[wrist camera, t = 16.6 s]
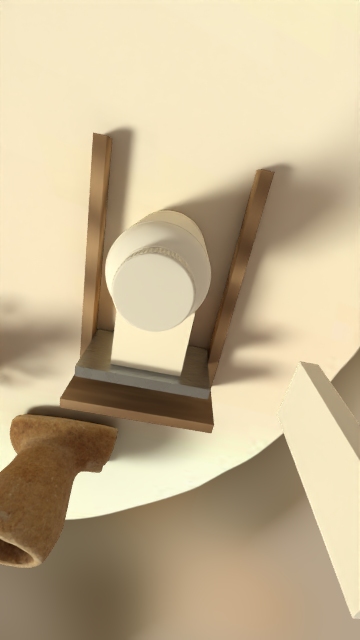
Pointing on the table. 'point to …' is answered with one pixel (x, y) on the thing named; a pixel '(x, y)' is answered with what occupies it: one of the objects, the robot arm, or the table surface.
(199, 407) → the lane
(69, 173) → the table surface
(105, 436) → the brown felt boot
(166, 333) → the cream cube
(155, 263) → the pill bottle
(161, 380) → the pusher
